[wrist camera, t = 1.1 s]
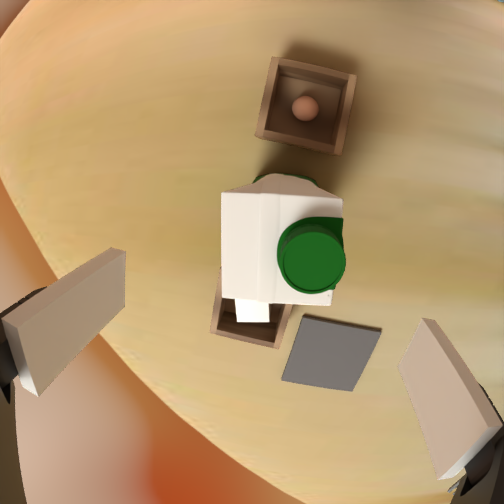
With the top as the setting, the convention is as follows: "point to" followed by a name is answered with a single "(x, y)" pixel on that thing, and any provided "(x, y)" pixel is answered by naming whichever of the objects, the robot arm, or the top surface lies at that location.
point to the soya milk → (281, 241)
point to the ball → (305, 108)
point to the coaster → (329, 354)
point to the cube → (252, 311)
